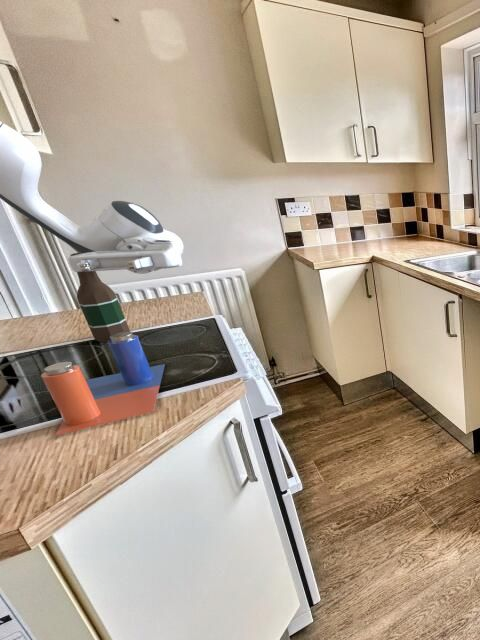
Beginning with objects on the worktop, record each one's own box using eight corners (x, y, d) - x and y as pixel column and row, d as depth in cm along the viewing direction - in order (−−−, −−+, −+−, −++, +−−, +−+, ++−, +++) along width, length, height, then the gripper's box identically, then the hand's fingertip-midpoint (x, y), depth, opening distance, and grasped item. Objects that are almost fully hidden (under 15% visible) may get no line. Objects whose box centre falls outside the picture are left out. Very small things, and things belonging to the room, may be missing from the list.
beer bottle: (96, 337, 120) (59, 253, 111) (131, 330, 125) (99, 249, 115) (94, 345, 115) (56, 257, 105) (131, 338, 119) (97, 253, 110)
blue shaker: (123, 387, 91) (103, 341, 87) (126, 379, 95) (107, 333, 91) (152, 381, 93) (134, 335, 89) (154, 373, 97) (137, 328, 93)
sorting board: (55, 438, 75) (54, 435, 75) (88, 381, 95) (87, 379, 95) (154, 413, 82) (153, 411, 82) (165, 365, 102) (164, 363, 102)
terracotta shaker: (61, 428, 77) (34, 374, 73) (68, 415, 81) (43, 364, 77) (97, 419, 79) (73, 367, 75) (103, 408, 83) (80, 357, 79)
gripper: (86, 244, 103) (43, 255, 90) (182, 240, 107) (154, 249, 95) (96, 270, 105) (56, 283, 93) (189, 264, 110) (163, 277, 97)
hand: (106, 266), depth 94 cm, fingers open, 8 cm apart
